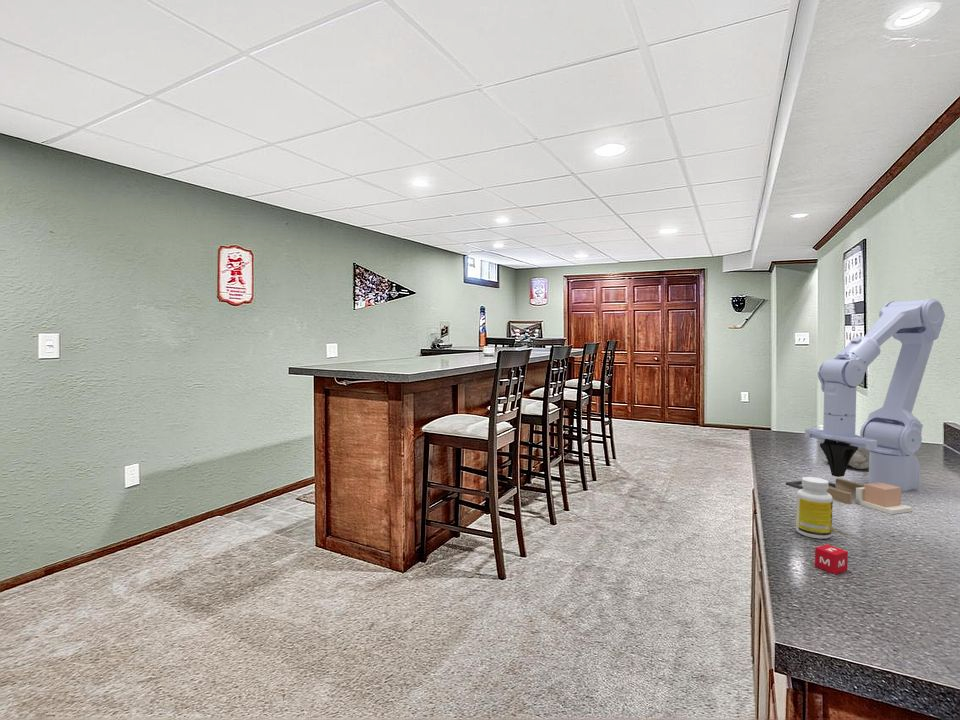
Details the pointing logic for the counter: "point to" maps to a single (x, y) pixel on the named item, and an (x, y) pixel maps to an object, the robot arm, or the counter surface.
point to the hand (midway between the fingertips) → (837, 475)
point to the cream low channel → (890, 509)
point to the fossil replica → (860, 459)
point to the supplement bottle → (814, 509)
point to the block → (882, 494)
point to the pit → (798, 483)
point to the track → (846, 486)
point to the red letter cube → (831, 559)
